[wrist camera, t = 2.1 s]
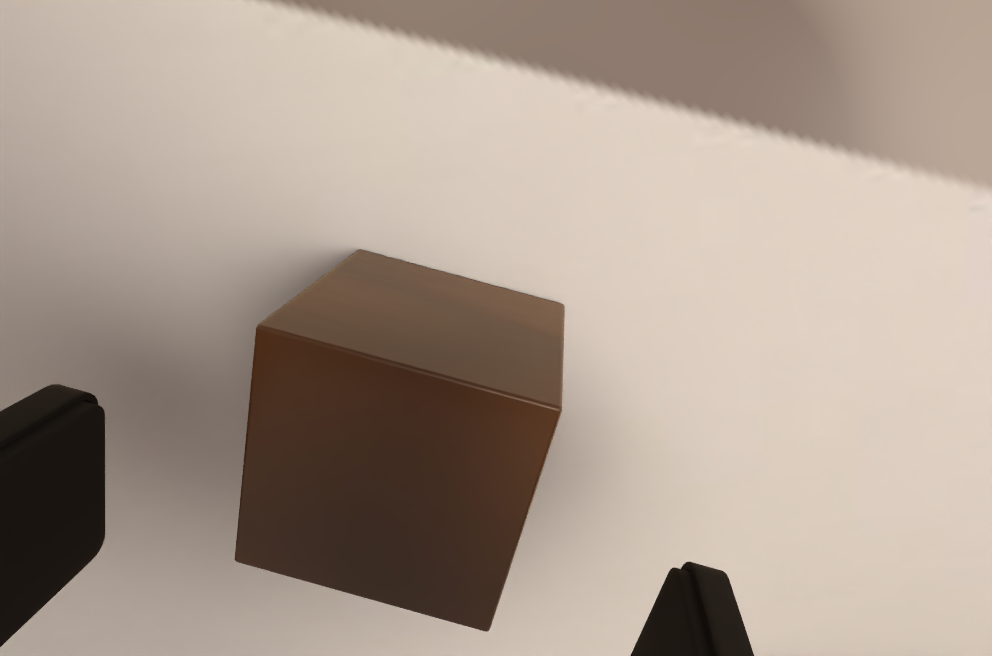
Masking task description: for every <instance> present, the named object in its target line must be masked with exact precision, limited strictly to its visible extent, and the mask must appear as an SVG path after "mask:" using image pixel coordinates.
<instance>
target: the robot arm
mask: <svg viewBox="0 0 992 656" xmlns="http://www.w3.org/2000/svg"><path fill="white" fill-rule="evenodd" d="M104 538H105V413H104V410H103V408H102V407H101V406H99V405H98V401H97V399H96V397H95V396H94V395H92V394H91V393H87V392H84V391H80V390H77V389H73V388H70V387H66V386H63V385H59V384H52V385H50V386H47V387H45V388H43V389H41V390H39V391H37V392H35V393H34V394H32V395H30V396H28V397H26V398H24V399H22V400H21V401H19V402H17V403H15V404H13V405H11V406H9V407H8V408H6V409H4V410H2V411H0V647H1V646H2V645H3V644H4V643H5V642H6V641H7V640H8V639H9V638H10V637H11V636H12V635H13V634H15V633H16V632H17V631H18V630H19V629H20V628H21V627H22V626H23V625H24V624H25V623H26V622H27V621H28V620H29V619H30V618H31V617H32V616H33V615H35V614H36V613H37V612H38V611H39V610H40V609H41V608H42V607H43V606H44V605H45V604H46V603H47V602H48V601H49V600H50V599H51V598H52V597H53V596H55V595H56V594H57V593H58V592H59V591H60V590H61V589H62V588H63V587H64V586H65V585H66V584H67V583H68V582H69V581H70V580H71V579H72V578H73V577H74V576H76V575H77V574H78V573H79V572H80V571H81V570H82V569H83V568H84V567H85V566H86V565H87V564H88V563H89V562H90V561H91V560H92V559H93V558H94V557H95V556H96V555H97V553H98V552H99V550H100V548H101V546H102V544H103V541H104ZM631 656H754V654H753V651H752V648H751V645H750V642H749V639H748V636H747V633H746V630H745V627H744V624H743V621H742V618H741V615H740V612H739V609H738V605H737V602H736V599H735V596H734V593H733V590H732V587H731V584H730V581H729V578H728V576H727V574H726V573H725V572H723V571H721V570H717V569H714V568H710V567H706V566H703V565H699V564H696V563H692V562H686V563H685V564H684V565H683V566H682V568H681V569H678V568H672V569H671V570H670V571H669V573H668V575H667V577H666V579H665V582H664V584H663V586H662V588H661V590H660V593H659V595H658V597H657V599H656V601H655V604H654V606H653V608H652V610H651V612H650V614H649V617H648V619H647V621H646V623H645V625H644V628H643V630H642V632H641V634H640V636H639V638H638V641H637V643H636V645H635V647H634V649H633V652H632V654H631Z"/></svg>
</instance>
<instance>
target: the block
mask: <svg viewBox="0 0 992 656" xmlns="http://www.w3.org/2000/svg"><path fill="white" fill-rule="evenodd" d="M564 312H565V307H564V305H563V304H560V303H556V302H553V301H549V300H545V299H542V298H538V297H534V296H530V295H527V294H523V293H519V292H516V291H512V290H508V289H504V288H501V287H497V286H493V285H490V284H486V283H482V282H479V281H475V280H471V279H467V278H464V277H460V276H456V275H453V274H449V273H445V272H441V271H438V270H434V269H430V268H427V267H423V266H419V265H416V264H412V263H408V262H404V261H401V260H397V259H393V258H390V257H386V256H382V255H378V254H375V253H371V252H367V251H364V250H358V251H356V252H355V253H354V254H352V255H351V256H350V257H348V258H347V259H346V260H344V261H343V262H342V263H340V264H339V265H338V266H336V267H335V268H334V269H332V270H331V271H330V272H328V273H327V274H326V275H324V276H323V277H322V278H320V279H319V280H318V281H316V282H315V283H313V284H312V285H311V286H309V287H308V288H307V289H305V290H304V291H303V292H301V293H300V294H299V295H297V296H296V297H295V298H293V299H292V300H291V301H289V302H288V303H287V304H285V305H284V306H283V307H281V308H280V309H279V310H277V311H276V312H274V313H273V314H272V315H270V316H269V317H268V318H266V319H265V320H264V321H262V322H261V323H260V324H258V326H257V327H256V336H255V347H254V358H253V369H252V379H251V390H250V401H249V412H248V422H247V433H246V444H245V454H244V465H243V476H242V487H241V497H240V508H239V519H238V530H237V540H236V551H235V561H237V562H239V563H243V564H246V565H250V566H253V567H257V568H261V569H264V570H268V571H271V572H275V573H278V574H282V575H286V576H289V577H293V578H296V579H300V580H303V581H307V582H311V583H314V584H318V585H321V586H325V587H328V588H332V589H336V590H339V591H343V592H346V593H350V594H353V595H357V596H361V597H364V598H368V599H371V600H375V601H378V602H382V603H386V604H389V605H393V606H396V607H400V608H404V609H407V610H411V611H414V612H418V613H421V614H425V615H429V616H432V617H436V618H439V619H443V620H446V621H450V622H454V623H457V624H461V625H464V626H468V627H471V628H475V629H479V630H482V631H489V629H490V627H491V624H492V621H493V618H494V615H495V612H496V609H497V606H498V603H499V600H500V597H501V594H502V591H503V588H504V585H505V582H506V579H507V576H508V573H509V570H510V567H511V563H512V560H513V557H514V554H515V551H516V548H517V545H518V542H519V539H520V536H521V533H522V530H523V527H524V524H525V521H526V518H527V515H528V512H529V509H530V506H531V503H532V500H533V497H534V494H535V491H536V488H537V485H538V482H539V479H540V476H541V472H542V469H543V466H544V463H545V460H546V457H547V454H548V451H549V448H550V445H551V442H552V439H553V436H554V433H555V430H556V427H557V424H558V421H559V418H560V415H561V412H562V388H563V350H564Z"/></svg>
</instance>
